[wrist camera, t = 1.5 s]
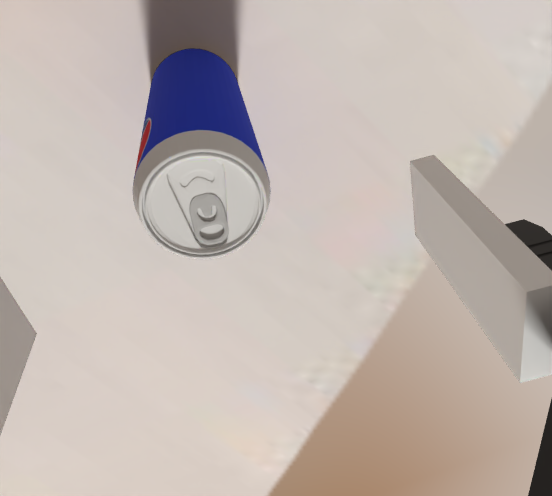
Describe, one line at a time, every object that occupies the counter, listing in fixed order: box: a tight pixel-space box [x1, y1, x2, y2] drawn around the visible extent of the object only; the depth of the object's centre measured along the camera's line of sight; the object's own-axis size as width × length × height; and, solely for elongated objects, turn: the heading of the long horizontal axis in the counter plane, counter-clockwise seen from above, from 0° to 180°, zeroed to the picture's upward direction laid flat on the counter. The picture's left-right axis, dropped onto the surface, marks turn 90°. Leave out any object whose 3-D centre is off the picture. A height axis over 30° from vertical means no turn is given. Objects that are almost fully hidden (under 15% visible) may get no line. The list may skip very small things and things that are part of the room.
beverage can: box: [133, 49, 271, 259], centre depth 25 cm, size 5×5×15 cm
